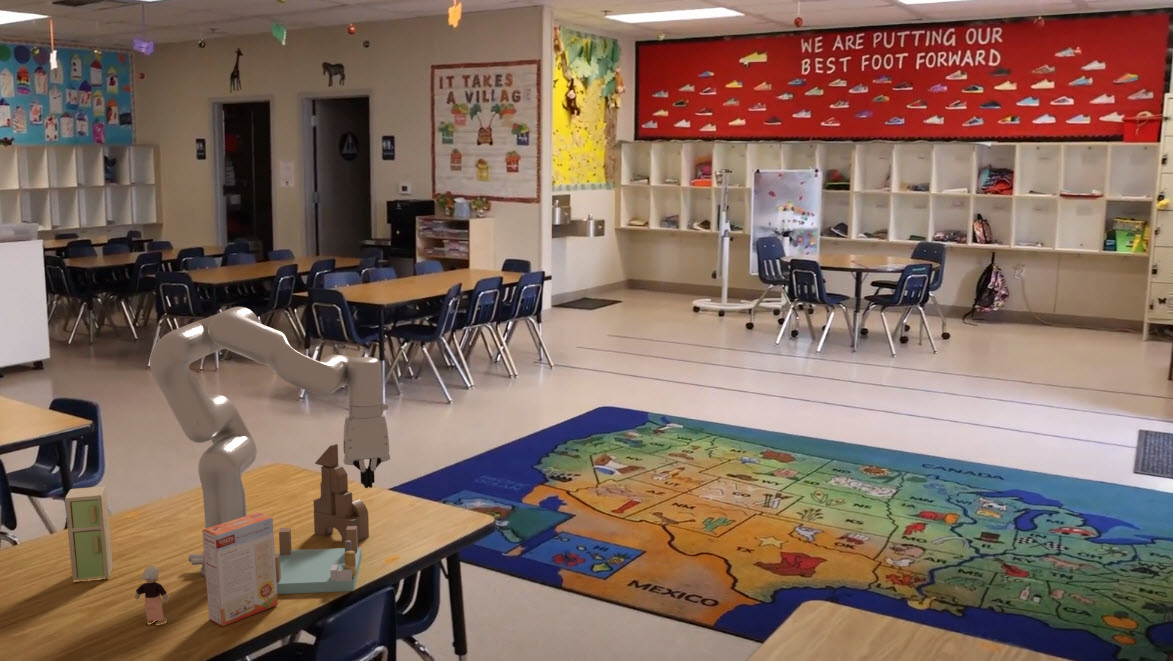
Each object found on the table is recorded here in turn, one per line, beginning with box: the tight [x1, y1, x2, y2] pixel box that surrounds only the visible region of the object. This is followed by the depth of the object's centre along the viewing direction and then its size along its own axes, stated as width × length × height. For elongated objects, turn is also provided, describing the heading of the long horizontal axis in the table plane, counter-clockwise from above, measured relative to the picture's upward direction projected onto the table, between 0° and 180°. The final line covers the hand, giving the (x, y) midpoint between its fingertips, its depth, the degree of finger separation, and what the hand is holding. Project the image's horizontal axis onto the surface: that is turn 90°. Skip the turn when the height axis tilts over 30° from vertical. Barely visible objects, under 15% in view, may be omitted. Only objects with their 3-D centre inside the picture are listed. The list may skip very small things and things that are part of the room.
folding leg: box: [344, 540, 356, 577], centre depth 248 cm, size 9×2×6 cm, turn 16°
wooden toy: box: [313, 443, 370, 543], centre depth 276 cm, size 16×7×25 cm, turn 58°
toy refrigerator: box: [64, 486, 114, 582], centre depth 248 cm, size 8×7×21 cm
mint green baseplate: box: [275, 526, 363, 595], centre depth 252 cm, size 20×20×8 cm
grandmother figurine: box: [134, 565, 170, 624], centre depth 226 cm, size 8×4×13 cm, turn 92°
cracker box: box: [202, 511, 279, 627], centre depth 231 cm, size 14×6×21 cm, turn 140°
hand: (367, 486), depth 249 cm, fingers closed
